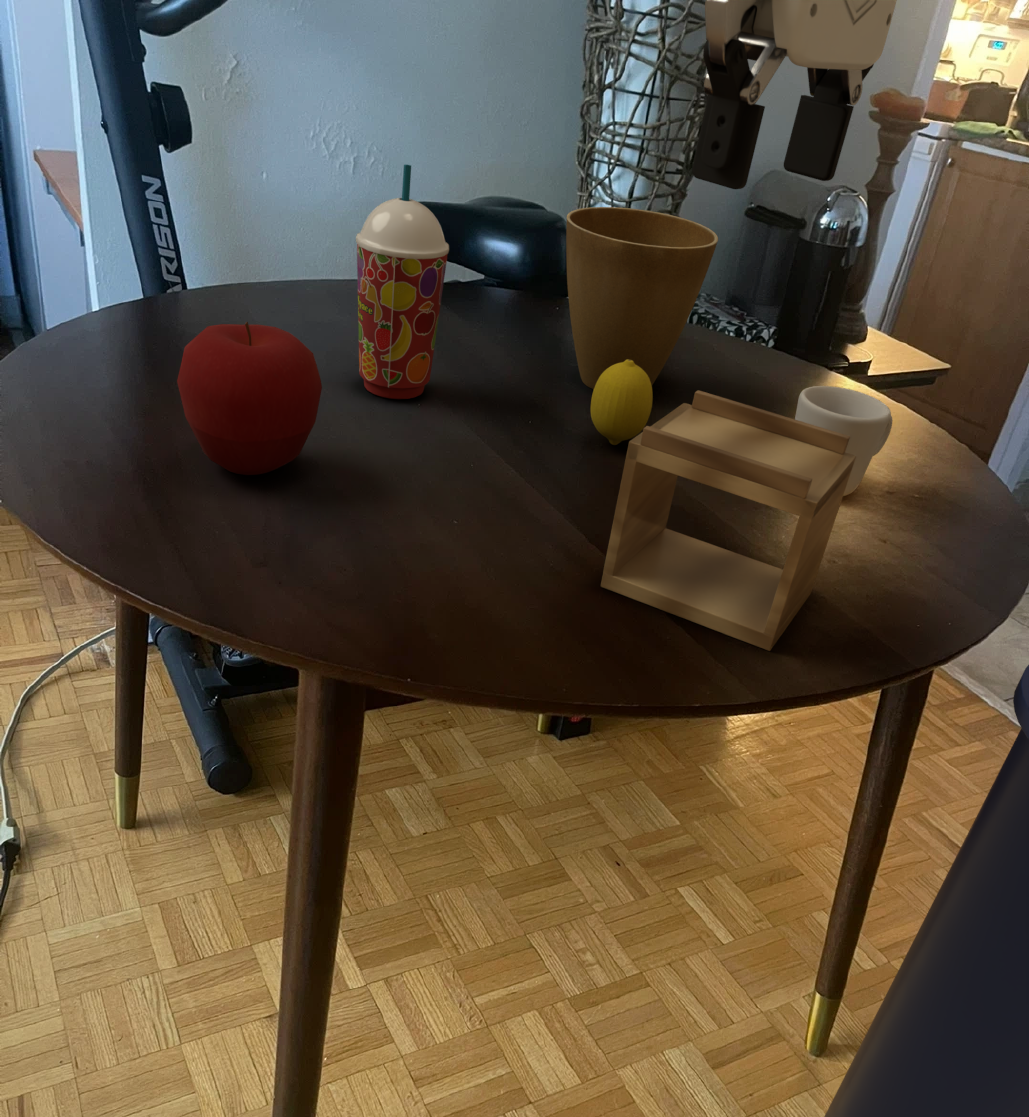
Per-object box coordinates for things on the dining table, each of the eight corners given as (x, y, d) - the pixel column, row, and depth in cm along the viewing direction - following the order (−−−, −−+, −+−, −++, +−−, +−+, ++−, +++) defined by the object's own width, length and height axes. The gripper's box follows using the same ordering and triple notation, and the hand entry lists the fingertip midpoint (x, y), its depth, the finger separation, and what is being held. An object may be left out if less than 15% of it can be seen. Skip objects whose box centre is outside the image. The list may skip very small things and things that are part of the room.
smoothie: (352, 370, 107) (361, 150, 95) (436, 378, 108) (454, 162, 96) (348, 401, 100) (356, 168, 88) (437, 409, 101) (457, 180, 89)
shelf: (810, 594, 80) (861, 439, 73) (769, 651, 73) (822, 485, 66) (653, 538, 85) (687, 386, 78) (599, 586, 77) (632, 424, 70)
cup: (839, 459, 103) (865, 379, 99) (901, 494, 98) (932, 411, 94) (758, 472, 98) (781, 388, 94) (819, 510, 93) (847, 423, 88)
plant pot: (570, 349, 120) (593, 198, 111) (696, 381, 117) (732, 227, 108) (523, 387, 109) (545, 221, 100) (662, 423, 105) (699, 255, 96)
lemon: (577, 431, 101) (591, 347, 96) (633, 433, 102) (649, 351, 98) (593, 456, 97) (608, 369, 92) (650, 458, 98) (668, 372, 93)
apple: (252, 510, 80) (250, 357, 73) (151, 465, 84) (140, 315, 77) (347, 468, 88) (352, 326, 81) (250, 429, 92) (248, 290, 85)
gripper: (846, -246, 43) (738, 205, 53) (1004, -173, 54) (891, 188, 64) (695, -253, 47) (620, 169, 57) (873, -183, 58) (785, 159, 68)
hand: (764, 179), depth 61 cm, fingers open, 9 cm apart
